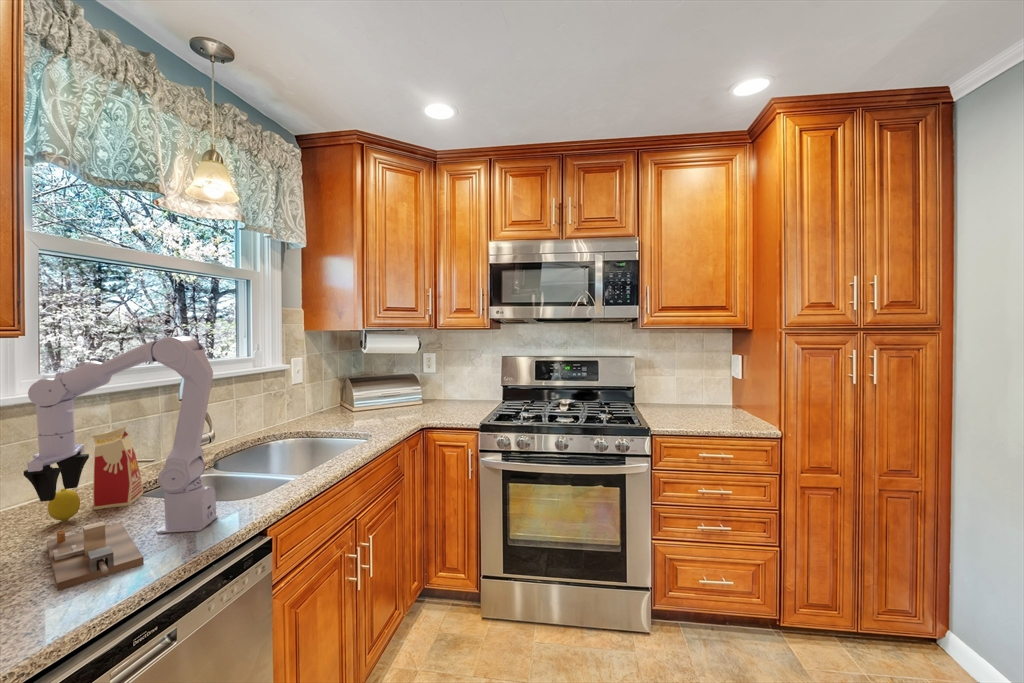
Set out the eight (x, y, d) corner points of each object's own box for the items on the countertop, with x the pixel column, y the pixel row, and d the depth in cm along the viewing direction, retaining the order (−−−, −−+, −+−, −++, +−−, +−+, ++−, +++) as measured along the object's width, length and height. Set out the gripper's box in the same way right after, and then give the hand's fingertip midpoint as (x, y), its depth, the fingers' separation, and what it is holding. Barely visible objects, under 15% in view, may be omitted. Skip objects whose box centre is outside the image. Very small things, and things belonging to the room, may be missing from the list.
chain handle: (53, 553, 90) (52, 527, 90) (101, 540, 96) (100, 516, 96) (62, 588, 78) (60, 558, 78) (116, 571, 84) (115, 543, 84)
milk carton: (143, 493, 128) (140, 422, 127) (131, 505, 120) (128, 429, 119) (101, 498, 124) (98, 425, 124) (86, 511, 116) (82, 432, 115)
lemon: (60, 527, 106) (59, 493, 106) (42, 525, 108) (40, 492, 107) (87, 517, 112) (85, 485, 112) (69, 516, 113) (67, 484, 113)
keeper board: (47, 548, 97) (46, 528, 96) (121, 528, 105) (120, 511, 105) (57, 591, 81) (56, 568, 80) (143, 564, 90) (142, 543, 89)
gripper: (56, 427, 106) (60, 485, 107) (7, 442, 92) (11, 508, 93) (93, 424, 108) (96, 481, 109) (50, 439, 94) (53, 504, 95)
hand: (59, 494), depth 101 cm, fingers open, 7 cm apart
